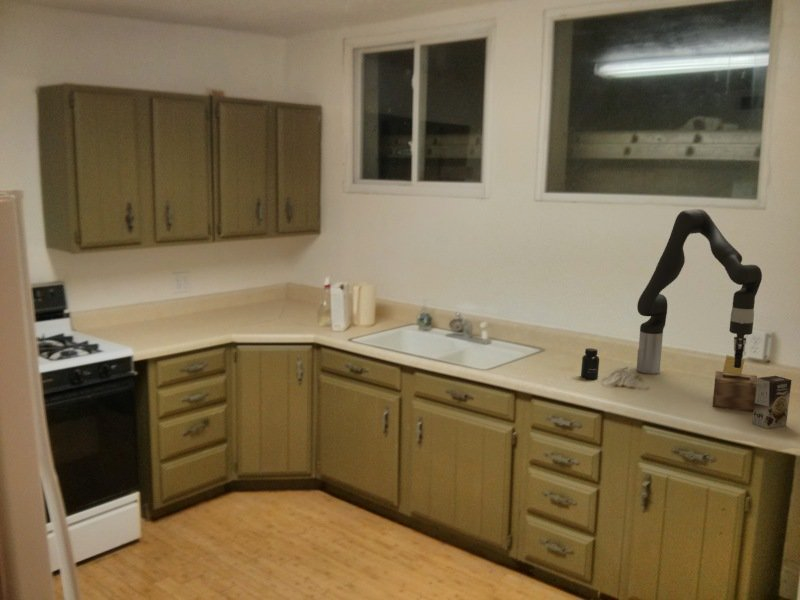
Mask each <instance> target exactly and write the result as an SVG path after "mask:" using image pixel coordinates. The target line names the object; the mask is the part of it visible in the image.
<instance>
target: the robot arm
mask: <svg viewBox="0 0 800 600" xmlns="http://www.w3.org/2000/svg"><path fill="white" fill-rule="evenodd" d="M693 234H701V235H702V236H704V238H706V240H707V241H708V242H709V247H710V252H711V254H712V255H713V256H714V258H715V259H716V260H717V261H718V263H720V264H721V265H722V267H724V270H725V272H726V273H727V275H728V277H729V280H730V281H732V282H733V283H734V284H736V285H739V286H741V288H740V289H739V290H736V291H735V292H734V294H733V296H732V297H733V298H732V308H731V311H730V312H731V313H730V321H729V322H730V323H729V330H728V331H729V333H731V334H736V336H734V337H733V351H734V353H733V354H734V356H733V357H735V363H734V367H735V368H741V361H742V358H743V357H744V355H743V354H744V352H745V349H746V348H745V347H746V344H747V338H746V337H745V336H748V335H752V334H753V331H754V330H753V328H754V320H755V301H756V300H755V299H756V295H757V294H758V291H759V288H760V285H761V283H762V280H763V274H762V270H761V268H760V267H759V266H758V265H757V264H742V262H743V256H742V254H741V253H740V252H739V251H738V250H737V249H736V248H735V247H734V246H733V245H732V243H730V242H729V241H728V240H727V239H726V238H725V236H724V235H723V234H722V232H721V231H720V229H719V228H718V227H717V225H716V223H715V222H714V221H713V219H712V218H711V216H710V215H709V214H708V212H706V211H705V210H704V209H700V208H695V209H685V210H682V211H680V212H679V213H678V215H677V216H676V217H675V221H674V223H673V226H672V230H671V233H670V236H669V238H668V241H667V243H666V245H665V247H664V249H663V252H662V254H661V255H660V256H661V257H659V260H658V263H657V264H656V266H655V267H656V268H655V270H654V271H653V274H652V275H651V277H650V280H649V281H648V283H647V285H646V286H645V288H644V289H643V292H642V293H641V295H640V296H639V299H638V301H637V304H636V305H637V312H638V314H639V315H641V316H643V317H649V319H648V320H646V321H644V322H643V323H641V324H640V325H639V340H638V349H637V359H636V370H635V371H636V372H639V373H641V374H642V373H643V374H649V375H655V374H659V373H660V372H661V364H662V363H661V362H662V351H663V350H662V349H663V337H664V329H665V326H666V320H667V315H668V300H667V297H666V296H665V295H663V294H661V292H662V291H663V290H665V289H666V288H667V287H668V286H669V285H670V284H672V283H673V282H674V281H675V280H676V279H678V277H679V275H680V273H681V272H682V269H683V268H684V265H685V262H686V256H685V251H684V245H685V243H686V241H687V239H688V237H689V236H690V235H693Z"/></svg>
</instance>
